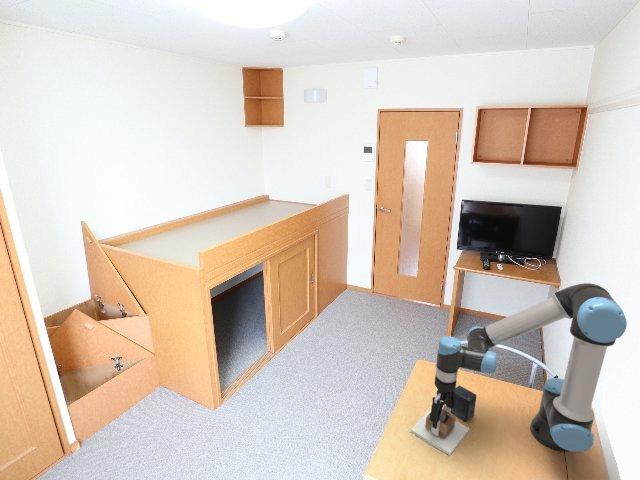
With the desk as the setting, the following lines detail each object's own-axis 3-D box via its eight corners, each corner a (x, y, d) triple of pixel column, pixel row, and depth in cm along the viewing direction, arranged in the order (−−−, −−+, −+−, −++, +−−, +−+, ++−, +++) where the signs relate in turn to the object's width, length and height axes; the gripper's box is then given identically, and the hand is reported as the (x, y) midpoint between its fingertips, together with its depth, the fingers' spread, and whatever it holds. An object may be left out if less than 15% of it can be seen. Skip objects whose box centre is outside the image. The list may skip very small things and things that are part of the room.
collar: (454, 426, 149) (455, 416, 147) (444, 438, 143) (446, 428, 141) (435, 416, 154) (436, 405, 152) (425, 427, 148) (426, 416, 147)
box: (473, 416, 157) (477, 394, 153) (466, 422, 153) (469, 400, 150) (456, 405, 162) (459, 384, 159) (449, 411, 159) (451, 390, 156)
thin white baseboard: (468, 430, 149) (471, 413, 147) (449, 456, 138) (452, 437, 136) (431, 410, 160) (432, 393, 157) (410, 432, 149) (412, 414, 146)
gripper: (449, 360, 151) (444, 407, 158) (422, 386, 137) (417, 437, 144) (468, 368, 146) (461, 417, 153) (442, 396, 132) (436, 448, 139)
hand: (440, 426), depth 148 cm, fingers open, 8 cm apart
